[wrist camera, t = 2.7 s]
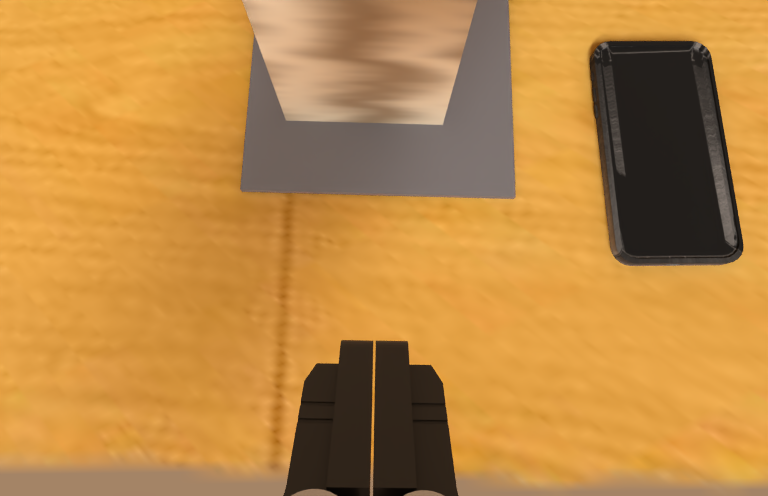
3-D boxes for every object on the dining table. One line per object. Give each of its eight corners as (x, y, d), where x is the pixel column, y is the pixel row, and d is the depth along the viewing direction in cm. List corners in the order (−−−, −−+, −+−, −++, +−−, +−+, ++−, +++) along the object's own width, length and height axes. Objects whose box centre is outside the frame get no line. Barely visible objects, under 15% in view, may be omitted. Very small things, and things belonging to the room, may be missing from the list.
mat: (503, -80, 37) (505, -85, 37) (513, 198, 32) (515, 196, 32) (266, -88, 37) (265, -93, 37) (242, 191, 32) (240, 189, 32)
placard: (442, 99, 33) (488, -86, 20) (442, 125, 33) (490, -46, 19) (287, 94, 33) (226, -94, 20) (285, 120, 33) (222, -55, 19)
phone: (708, 41, 34) (746, 262, 31) (698, 51, 35) (734, 266, 32) (590, 41, 34) (616, 263, 31) (584, 51, 35) (608, 267, 32)
